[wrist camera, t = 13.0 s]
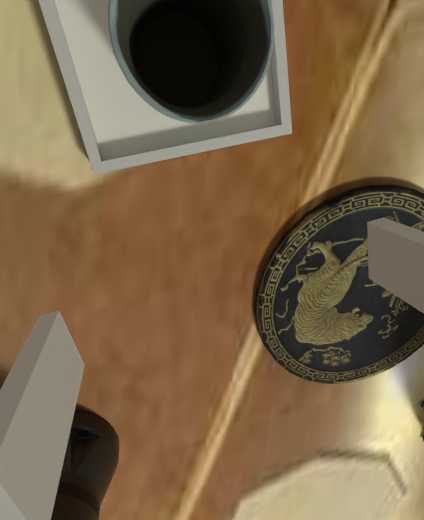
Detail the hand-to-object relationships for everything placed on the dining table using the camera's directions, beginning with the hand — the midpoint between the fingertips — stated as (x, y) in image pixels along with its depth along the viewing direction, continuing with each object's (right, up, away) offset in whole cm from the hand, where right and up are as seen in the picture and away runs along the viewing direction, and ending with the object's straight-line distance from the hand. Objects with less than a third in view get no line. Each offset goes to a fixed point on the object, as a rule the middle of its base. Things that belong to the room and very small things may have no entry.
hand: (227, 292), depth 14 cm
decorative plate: (+20, -3, +33) cm, 39 cm away
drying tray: (-4, +20, +18) cm, 27 cm away
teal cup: (-4, +20, +17) cm, 26 cm away
